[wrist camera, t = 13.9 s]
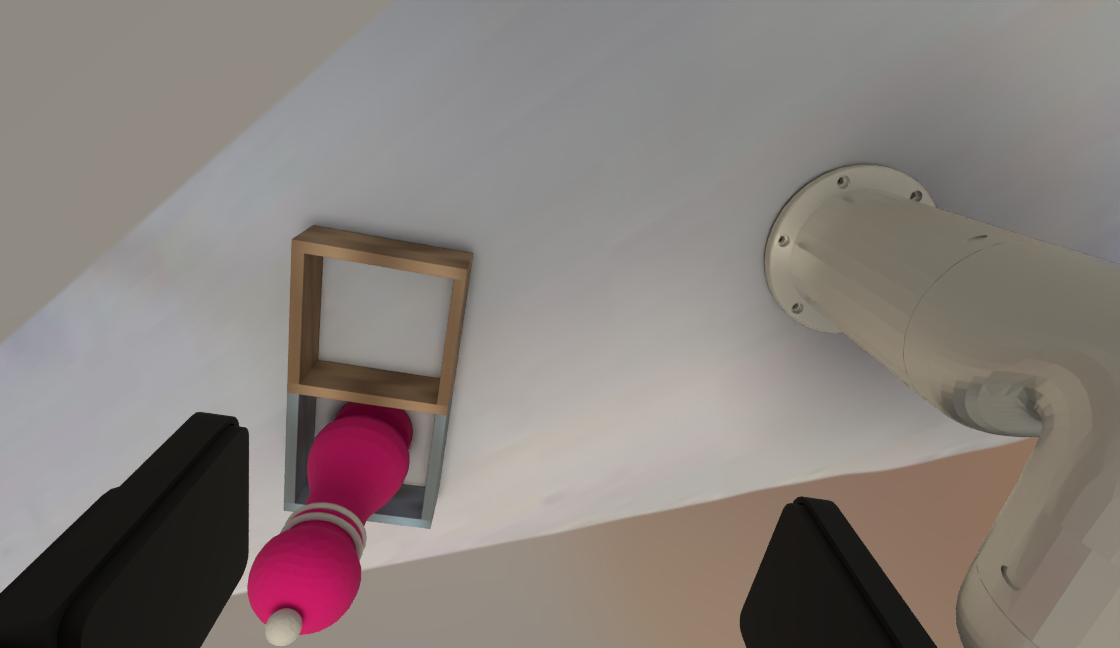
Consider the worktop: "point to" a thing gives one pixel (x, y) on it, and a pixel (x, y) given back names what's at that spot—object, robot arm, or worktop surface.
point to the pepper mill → (330, 523)
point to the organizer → (362, 382)
